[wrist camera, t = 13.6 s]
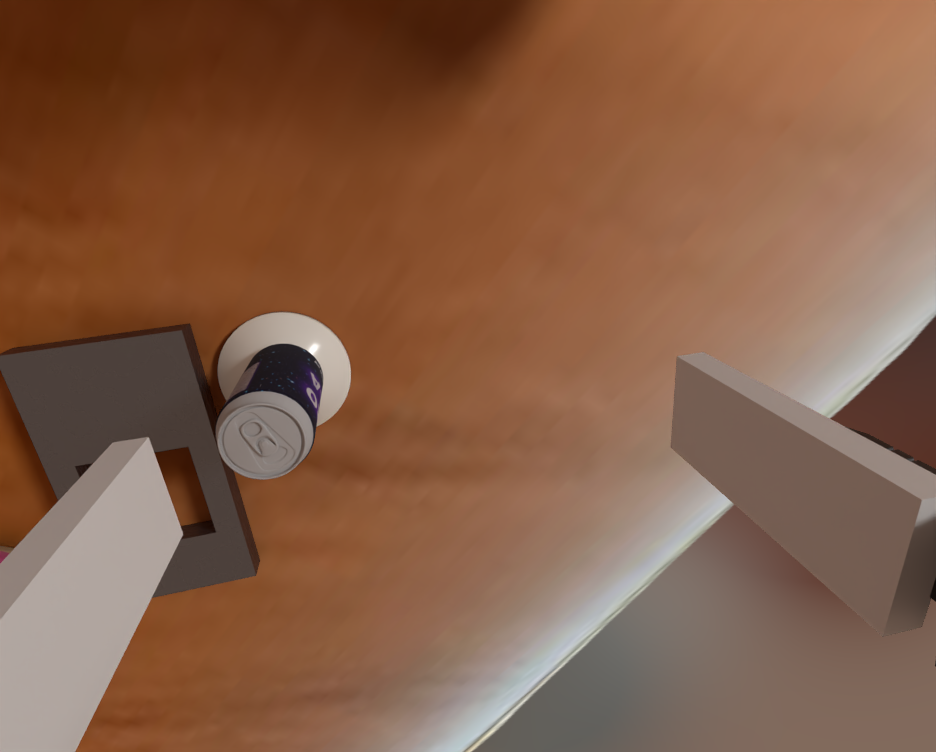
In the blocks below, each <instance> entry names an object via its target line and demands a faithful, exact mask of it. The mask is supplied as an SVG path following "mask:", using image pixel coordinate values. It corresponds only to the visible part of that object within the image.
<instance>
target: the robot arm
mask: <svg viewBox="0 0 936 752" xmlns="http://www.w3.org/2000/svg"><path fill="white" fill-rule="evenodd" d="M671 448H672V449H673V450H674V451H675V452H677V453H678V454H679V455H680V456H681V457H682V458H683V459H684V460H686V461H687V462H688V463H689V464H690V465H691V466H692V467H693V468H694V469H696V470H697V471H698V472H699V473H700V474H701V475H702V476H703V477H705V478H706V479H707V480H708V481H709V482H710V483H711V484H712V485H713V486H715V487H716V488H717V489H718V490H719V491H720V492H721V493H722V494H724V495H725V496H726V497H727V498H728V499H729V500H730V501H731V502H733V503H734V504H735V505H736V506H737V507H738V508H739V509H740V510H742V511H743V512H744V513H745V514H746V515H747V516H748V517H749V518H750V519H752V520H753V521H754V522H755V523H756V524H757V525H758V526H759V527H761V528H762V529H763V530H764V531H765V532H766V533H767V534H768V535H769V536H771V537H772V538H773V539H774V540H775V541H776V542H777V543H778V544H780V545H781V546H782V547H783V548H784V549H785V550H786V551H787V552H789V553H790V554H791V555H792V556H793V557H794V558H795V559H796V560H797V561H799V562H800V563H801V564H802V565H803V566H804V567H805V568H806V569H807V570H809V571H810V572H811V573H812V574H813V575H814V576H815V577H816V578H818V579H819V580H820V581H821V582H822V583H823V584H824V585H825V586H827V587H828V588H829V589H830V590H831V591H832V592H833V593H835V594H836V595H837V596H838V597H839V598H840V599H841V600H842V601H843V602H844V603H846V604H847V605H848V606H849V607H850V608H851V609H852V610H853V611H854V612H856V613H857V614H858V615H859V616H860V617H861V618H862V619H863V620H865V621H866V622H867V623H868V624H869V625H870V626H871V627H873V628H874V629H875V630H876V631H877V632H878V633H879V634H880V635H881V636H882V637H884V636H888V635H892V634H896V633H900V632H904V631H908V630H912V629H916V628H920V627H922V625H923V622H924V619H925V616H926V613H927V610H928V607H929V604H930V600H931V598H932V599H933V600H934V601H936V469H935V468H932V467H931V466H929V465H927V464H925V463H923V462H921V461H919V460H917V461H914V459H913V457H911V456H910V455H907V454H906V453H904V452H902V451H900V450H894V449H893V447H892V446H890V445H888V444H886V443H884V442H883V441H880V440H879V439H877V438H875V437H873V436H871V435H869V434H866V433H863V432H860V431H857V430H853V429H851V428H847V427H844V426H842V425H840V424H838V423H837V422H835V421H833V420H831V419H829V418H827V417H825V416H823V415H821V414H820V413H818V412H816V411H814V410H812V409H810V408H808V407H806V406H804V405H803V404H801V403H799V402H797V401H795V400H793V399H791V398H789V397H787V396H785V395H784V394H782V393H780V392H778V391H776V390H774V389H772V388H770V387H768V386H767V385H765V384H763V383H761V382H759V381H757V380H755V379H753V378H751V377H750V376H748V375H746V374H744V373H742V372H740V371H738V370H736V369H734V368H732V367H731V366H729V365H727V364H725V363H723V362H721V361H719V360H717V359H715V358H714V357H712V356H710V355H708V354H706V353H704V352H701V353H695V354H688V355H682V356H677V362H676V377H675V391H674V406H673V420H672V435H671ZM182 536H183V532H182V529H181V527H180V524H179V521H178V518H177V515H176V512H175V510H174V507H173V504H172V501H171V498H170V496H169V493H168V490H167V487H166V484H165V482H164V479H163V476H162V473H161V470H160V468H159V465H158V462H157V459H156V456H155V454H154V451H153V448H152V445H151V442H150V439H149V437H145V438H139V439H132V440H125V441H119V442H113V443H112V444H111V445H110V446H109V447H108V448H107V449H106V450H105V451H104V452H103V454H102V455H101V456H100V457H99V458H98V459H97V460H96V461H95V462H94V463H93V464H92V465H91V466H90V468H89V469H88V470H87V471H86V472H85V473H84V474H83V475H82V476H81V477H80V478H79V479H78V480H77V482H76V483H75V484H74V485H73V486H72V487H71V488H70V489H69V490H68V491H67V492H66V493H65V494H64V496H63V497H62V498H61V499H60V500H59V501H58V502H57V503H56V504H55V505H54V506H53V507H52V509H51V510H50V511H49V512H48V513H47V514H46V515H45V516H44V517H43V518H42V519H41V520H40V521H39V523H38V524H37V525H36V526H35V527H34V528H33V529H32V530H31V531H30V532H29V533H28V534H27V535H26V537H25V538H24V539H23V540H22V541H21V542H20V543H19V544H18V545H17V546H16V547H15V548H14V549H13V551H12V552H11V553H10V554H9V555H8V556H7V557H6V558H5V559H4V560H3V561H2V562H1V563H0V752H75V751H76V749H77V747H78V745H79V743H80V741H81V739H82V737H83V735H84V733H85V731H86V729H87V727H88V725H89V723H90V721H91V719H92V717H93V715H94V713H95V711H96V709H97V707H98V705H99V703H100V701H101V699H102V697H103V695H104V692H105V690H106V688H107V686H108V684H109V682H110V680H111V678H112V676H113V674H114V672H115V670H116V668H117V666H118V664H119V662H120V660H121V658H122V656H123V654H124V652H125V650H126V648H127V646H128V644H129V642H130V640H131V638H132V636H133V634H134V632H135V630H136V628H137V626H138V624H139V622H140V620H141V618H142V616H143V614H144V612H145V610H146V608H147V606H148V604H149V602H150V600H151V598H152V596H153V594H154V592H155V590H156V588H157V586H158V584H159V582H160V580H161V578H162V576H163V574H164V572H165V570H166V568H167V566H168V564H169V562H170V560H171V558H172V556H173V554H174V552H175V550H176V548H177V546H178V544H179V542H180V540H181V538H182ZM935 666H936V664H935Z"/></svg>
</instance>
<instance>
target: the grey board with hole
mask: <svg viewBox="0 0 936 752" xmlns="http://www.w3.org/2000/svg"><path fill="white" fill-rule="evenodd" d="M0 370H1V372H2V375H3V377H4V379H5V381H6V384H7V386H8V388H9V391H10V393H11V395H12V397H13V400H14V402H15V404H16V406H17V409H18V411H19V413H20V415H21V418H22V420H23V422H24V424H25V427H26V429H27V431H28V433H29V436H30V438H31V440H32V442H33V445H34V447H35V449H36V452H37V454H38V456H39V458H40V461H41V463H42V465H43V467H44V470H45V472H46V474H47V476H48V479H49V481H50V483H51V485H52V488H53V490H54V492H55V494H56V497H57V499H58V501H59V500H60V499H61V498H62V497H63V496H64V494H65V493H66V492H67V491H68V490H69V489H70V488H71V487H72V486H73V485H74V484H75V483H76V482H77V480H78V479H79V478H80V477H81V476H82V475H83V474H84V473H85V472H86V471H87V470H88V469H89V468H90V466H91V465H92V464H91V463H94V462H95V461H96V460H97V459H98V458H99V457H100V456H101V455H102V454H103V452H104V451H105V450H106V449H107V448H108V447H109V446H110V445H111V444H112V443H113V442H119V441H125V440H132V439H139V438H145V437H149V439H150V442H151V445H152V448H153V451H154V453H155V452H160V451H166V450H172V449H178V448H184V447H189V450H190V453H191V456H192V460H193V463H194V466H195V469H196V472H197V475H198V478H199V481H200V484H201V487H202V490H203V493H204V496H205V500H206V503H207V506H208V509H209V512H210V515H211V518H212V520H211V521H206V522H201V523H196V524H191V525H186V526H181V529H182V532H183V536H182V538H181V540H180V542H179V544H178V546H177V548H176V550H175V552H174V554H173V556H172V558H171V560H170V562H169V564H168V566H167V568H166V570H165V572H164V574H163V576H162V578H161V580H160V582H159V584H158V586H157V588H156V590H155V592H154V594H153V596H152V598H153V597H158V596H163V595H167V594H172V593H177V592H181V591H186V590H191V589H196V588H200V587H205V586H210V585H214V584H219V583H224V582H228V581H233V580H238V579H243V578H247V577H252V576H256V574H257V570H258V566H259V562H260V559H259V555H258V552H257V549H256V545H255V542H254V539H253V535H252V532H251V528H250V525H249V522H248V518H247V515H246V512H245V508H244V505H243V501H242V498H241V495H240V491H239V488H238V485H237V481H236V478H235V474H234V471H233V470H232V469H231V468H230V467H229V466H228V465H227V464H226V463H225V462H224V460H223V459H222V457H221V455H220V453H219V450H218V446H217V441H216V437H215V424H216V420H217V414H216V410H215V407H214V404H213V400H212V397H211V393H210V390H209V387H208V383H207V380H206V376H205V373H204V370H203V366H202V363H201V360H200V356H199V353H198V349H197V346H196V343H195V339H194V336H193V333H192V329H191V326H190V324H183V325H176V326H169V327H162V328H154V329H147V330H140V331H133V332H126V333H118V334H111V335H104V336H97V337H90V338H82V339H75V340H68V341H61V342H54V343H46V344H39V345H32V346H25V347H18V348H12V349H9V350H7V351H5V352H3V353H1V354H0Z"/></svg>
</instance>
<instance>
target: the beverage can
mask: <svg viewBox="0 0 936 752" xmlns="http://www.w3.org/2000/svg"><path fill="white" fill-rule="evenodd" d="M322 388H323V372H322V369H321V366H320V364H319V362H318V361H317V359H316V358H315V357H314V356H313V355H312V354H311V353H310V352H308V351H307V350H305V349H303V348H301V347H299V346H296V345H293V344H274V345H271V346H268V347H265V348H264V349H262V350H260V351H259V352H258V353H257V354H256V355H255V356H254V357H253V358H252V360H251V361H250V363H249V364H248V366H247V368H246V369H245V371H244V373H243V374H242V376H241V378H240V379H239V381H238V383H237V384H236V386H235V388H234V389H233V391H232V393H231V394H230V396H229V398H228V399H227V401H226V403H225V404H224V406H223V408H222V409H221V411H220V413H219V415H218V417H217V420H216V424H215V437H216V441H217V446H218V450H219V453H220V455H221V457H222V459H223V460H224V462H225V463H226V464H227V465H228V466H229V467H230V468H231V469H232V470H234V471H235V472H237V473H239V474H240V475H243V476H245V477H249V478H253V479H273V478H277V477H280V476H282V475H285V474H287V473H288V472H290V471H291V470H293V469H294V468H295V467H296V466H297V465H298V464H300V463H301V462H302V461H303V460H304V459H305V458H306V457H307V455H308V454H309V452H310V450H311V448H312V446H313V443H314V438H315V432H316V426H317V419H318V413H319V407H320V400H321V394H322Z"/></svg>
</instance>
